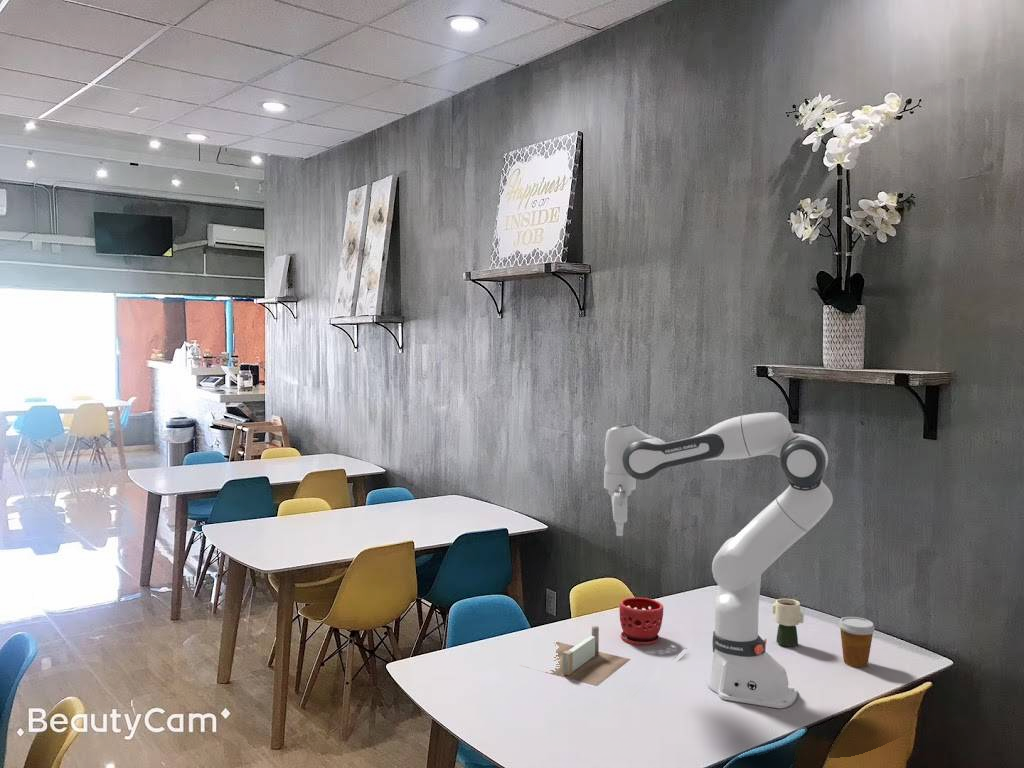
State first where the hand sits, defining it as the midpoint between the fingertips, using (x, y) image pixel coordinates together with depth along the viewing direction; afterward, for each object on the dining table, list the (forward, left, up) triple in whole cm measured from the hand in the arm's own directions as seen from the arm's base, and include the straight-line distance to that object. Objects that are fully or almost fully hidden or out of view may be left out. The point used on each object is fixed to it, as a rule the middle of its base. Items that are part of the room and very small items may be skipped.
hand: (619, 531), depth 224 cm
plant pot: (+2, -21, -39) cm, 44 cm away
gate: (+8, +8, -37) cm, 39 cm away
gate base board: (+10, +6, -39) cm, 40 cm away
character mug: (-36, -43, -39) cm, 68 cm away
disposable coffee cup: (-56, -39, -39) cm, 78 cm away
